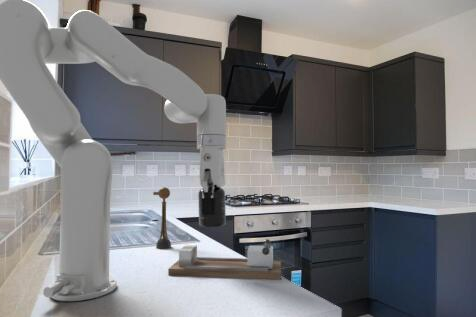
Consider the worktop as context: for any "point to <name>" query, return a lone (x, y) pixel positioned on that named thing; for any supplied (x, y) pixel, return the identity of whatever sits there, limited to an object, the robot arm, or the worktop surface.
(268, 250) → the block
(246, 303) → the worktop surface
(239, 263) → the vise base
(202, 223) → the supplement bottle
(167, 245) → the wooden tabletop sculpture
